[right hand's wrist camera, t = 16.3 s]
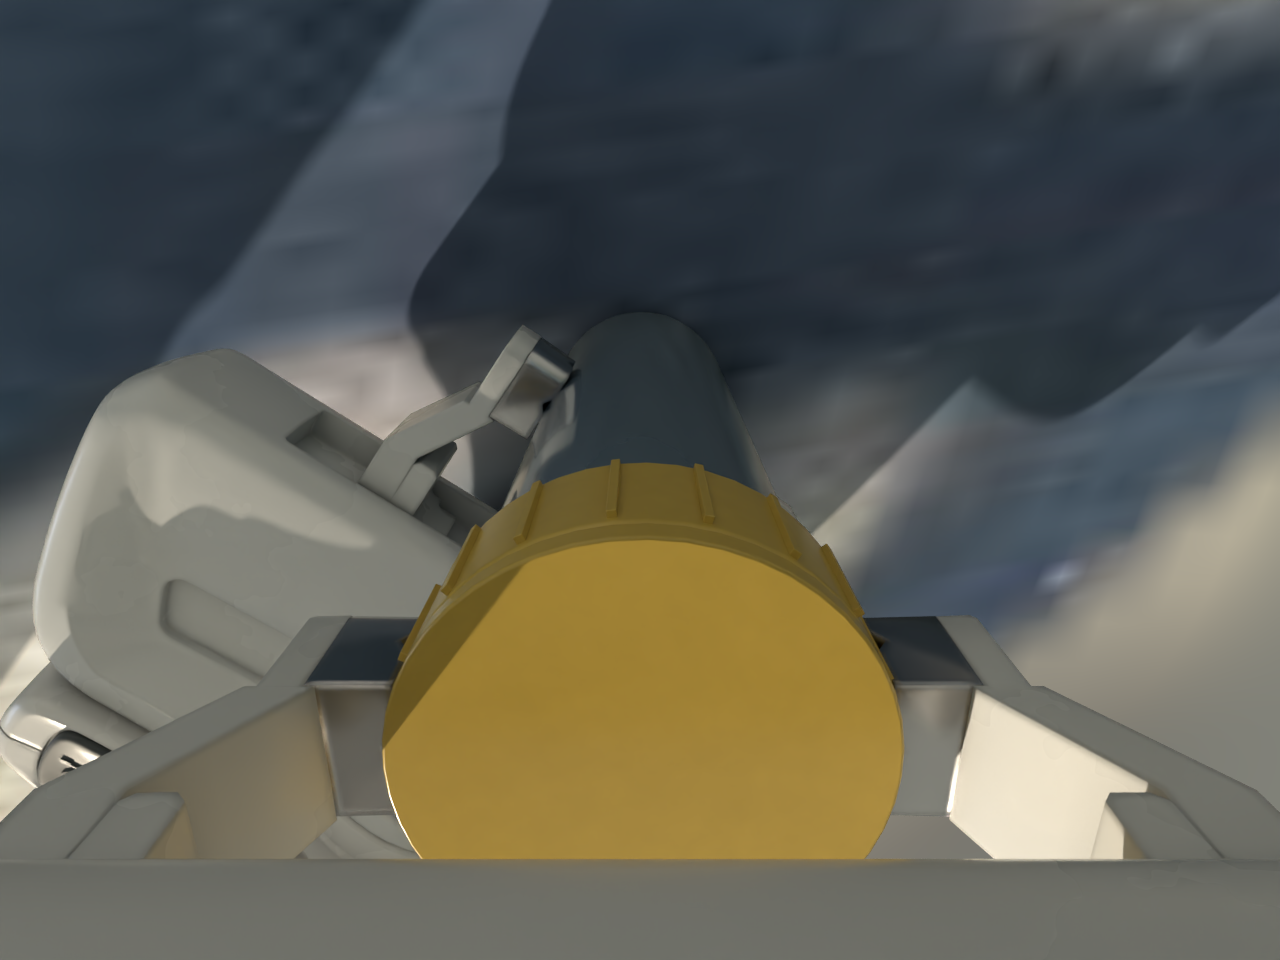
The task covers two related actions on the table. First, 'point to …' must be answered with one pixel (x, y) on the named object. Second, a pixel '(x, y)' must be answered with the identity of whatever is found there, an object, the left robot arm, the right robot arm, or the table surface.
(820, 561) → the lid
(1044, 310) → the table surface
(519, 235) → the table surface
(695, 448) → the jar
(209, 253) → the table surface
